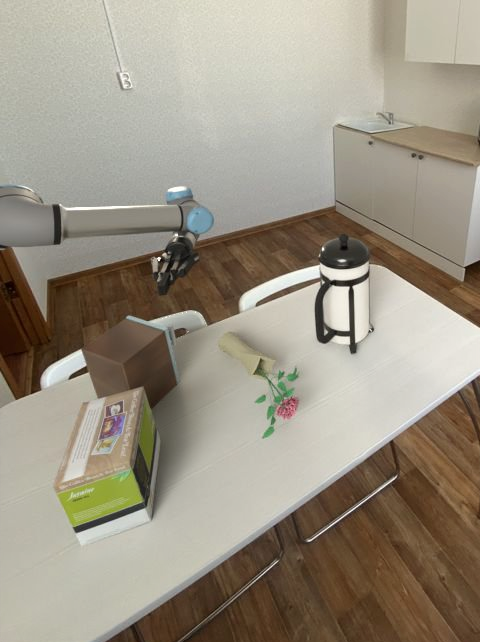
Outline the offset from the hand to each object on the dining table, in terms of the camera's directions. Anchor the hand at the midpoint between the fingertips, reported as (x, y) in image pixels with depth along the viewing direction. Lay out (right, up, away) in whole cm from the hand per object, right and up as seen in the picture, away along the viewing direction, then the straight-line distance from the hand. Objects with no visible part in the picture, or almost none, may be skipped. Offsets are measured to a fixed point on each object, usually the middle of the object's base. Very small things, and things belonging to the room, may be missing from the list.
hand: (161, 290), depth 94 cm
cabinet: (-1, -21, -8) cm, 23 cm away
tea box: (+8, -28, -27) cm, 40 cm away
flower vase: (+26, -20, -7) cm, 34 cm away
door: (+2, -18, -3) cm, 19 cm away
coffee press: (+45, -15, +7) cm, 48 cm away
